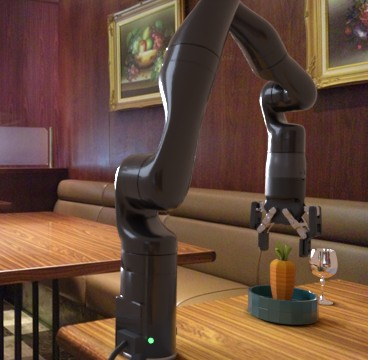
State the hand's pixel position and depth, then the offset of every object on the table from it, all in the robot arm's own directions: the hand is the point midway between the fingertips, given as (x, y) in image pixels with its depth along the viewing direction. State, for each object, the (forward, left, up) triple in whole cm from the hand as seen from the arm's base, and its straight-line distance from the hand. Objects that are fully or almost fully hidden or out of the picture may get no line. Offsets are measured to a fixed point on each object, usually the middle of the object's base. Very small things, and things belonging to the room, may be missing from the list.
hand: (283, 253), depth 102 cm
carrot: (0, 0, -13) cm, 13 cm away
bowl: (0, 0, -13) cm, 13 cm away
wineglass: (+18, +1, -13) cm, 22 cm away
